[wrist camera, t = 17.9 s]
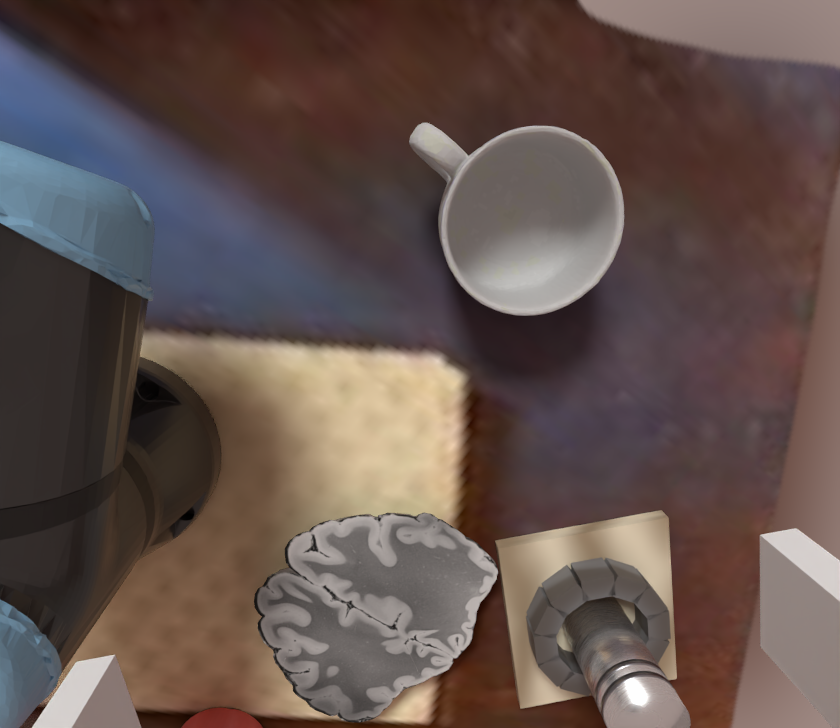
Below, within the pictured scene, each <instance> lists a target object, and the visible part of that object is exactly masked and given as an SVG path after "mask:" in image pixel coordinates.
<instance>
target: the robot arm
mask: <svg viewBox="0 0 840 728" xmlns="http://www.w3.org/2000/svg"><path fill="white" fill-rule="evenodd" d="M154 230H155V228H154V221H153V217H152V214H151V212H150V210H149V208H148V206H147V205H146V203H145V202H144V201H143V200H142V198H141V197H139V196H138V195H137V194H136V193H135V192H134V191H133V190H131V189H130V188H128V187H126V186H124V185H122V184H120V183H117V182H115V181H112V180H110V179H107V178H104V177H101V176H99V175H96V174H93V173H90V172H88V171H85V170H82V169H79V168H76V167H74V166H71V165H68V164H65V163H62V162H59V161H57V160H54V159H51V158H48V157H45V156H42V155H40V154H37V153H34V152H31V151H28V150H26V149H23V148H20V147H17V146H14V145H11V144H8V143H5V142H2V141H0V728H20V726H21V725H22V724H23V723H24V722H25V720H26V719H27V718H28V717H29V716H30V714H31V713H32V712H33V711H34V710H35V708H36V707H37V706H38V705H39V704H40V703H41V702H42V701H43V700H44V699H45V698H47V697H48V696H49V694H50V693H51V692H52V691H53V690H54V689H55V687H56V686H57V683H58V679H59V677H60V675H61V673H62V671H63V670H64V669H65V667H66V666H67V664H68V663H69V661H70V660H71V658H72V657H73V655H74V654H75V652H76V651H77V649H78V648H79V646H80V645H81V643H82V642H83V641H84V639H85V638H86V636H87V635H88V633H89V632H90V630H91V629H92V627H93V626H94V624H95V623H96V621H97V620H98V618H99V617H100V615H101V614H102V613H103V611H104V610H105V608H106V607H107V605H108V604H109V602H110V601H111V599H112V598H113V596H114V595H115V593H116V592H117V590H118V589H119V587H120V586H121V584H122V583H123V582H124V580H125V579H126V577H127V576H128V574H129V573H130V571H131V570H132V568H133V567H134V565H135V563H136V562H137V561H138V560H139V559H140V558H142V557H144V556H145V555H147V554H149V553H151V552H152V551H154V550H156V549H158V548H159V547H161V546H163V545H165V544H166V543H168V542H170V541H171V540H173V539H174V538H176V537H177V536H178V535H180V534H181V533H182V532H183V531H184V530H186V529H187V528H188V527H189V526H190V525H191V524H192V523H193V521H194V520H195V519H196V518H197V517H198V515H199V514H200V512H201V511H202V509H203V508H204V506H205V504H206V503H207V501H208V499H209V497H210V496H211V494H212V492H213V490H214V488H215V485H216V483H217V479H218V476H219V471H220V464H221V446H220V440H219V435H218V431H217V428H216V425H215V423H214V420H213V418H212V416H211V414H210V412H209V410H208V409H207V407H206V405H205V404H204V402H203V401H202V399H201V398H200V397H199V396H198V394H197V393H196V392H195V391H194V390H193V389H192V388H191V387H190V386H189V385H188V384H187V383H186V382H185V381H183V380H182V379H181V378H180V377H178V376H177V375H176V374H174V373H173V372H171V371H170V370H168V369H166V368H165V367H163V366H161V365H159V364H157V363H155V362H152V361H150V360H147V359H144V358H141V357H140V351H141V344H142V338H143V331H144V324H145V318H146V311H147V304H148V301H152V299H153V295H154V293H153V290H152V288H151V287H150V274H151V263H152V253H153V243H154ZM760 635H761V636H760V639H761V642H760V644H761V648H762V649H763V650H764V651H765V652H766V654H767V655H768V656H769V657H770V658H771V659H772V660H773V661H774V663H775V664H776V665H777V666H778V667H779V668H780V669H781V670H782V672H783V673H784V674H785V675H786V676H787V677H788V678H789V679H790V680H791V682H792V683H793V684H794V685H795V686H796V687H797V688H798V689H799V691H800V692H801V693H802V694H803V695H804V696H805V697H806V698H807V700H808V701H809V702H810V703H811V704H812V705H813V706H814V707H815V709H816V710H817V711H818V712H819V713H820V714H821V715H822V716H823V718H824V719H825V720H826V721H827V722H828V723H829V724H830V725H831V726H832V728H840V561H839V560H838V559H837V558H835V557H834V556H833V555H831V554H830V553H828V552H827V551H826V550H825V549H823V548H822V547H821V546H819V545H818V544H817V543H815V542H814V541H812V540H811V539H810V538H808V537H807V536H806V535H804V534H803V533H802V532H801V531H799V530H798V529H796V528H795V529H790V530H784V531H779V532H773V533H768V534H762V535H760ZM32 728H141V725H140V722H139V720H138V717H137V714H136V711H135V708H134V706H133V703H132V700H131V697H130V694H129V692H128V689H127V686H126V683H125V680H124V678H123V675H122V672H121V669H120V666H119V663H118V661H117V658H116V655H110V656H104V657H99V658H94V659H88V660H83V661H77V662H76V663H75V664H74V666H73V667H72V669H71V670H70V672H69V673H68V675H67V676H66V678H65V679H64V681H63V682H62V684H61V685H60V687H59V688H58V690H57V691H56V693H55V694H54V696H53V697H52V699H51V700H50V701H49V703H48V704H47V706H46V707H45V709H44V710H43V712H42V713H41V715H40V716H39V718H38V719H37V721H36V722H35V724H34V725H33V727H32Z"/></svg>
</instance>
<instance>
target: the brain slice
mask: <svg viewBox="0 0 840 728" xmlns="http://www.w3.org/2000/svg"><path fill="white" fill-rule="evenodd" d="M285 558H286V563H287V564H288V566H289V568H286V569H282V570H279V571H278V572H276V573H274V574H272V575H271V576H269V577H268V578H267V580H266V582H265V583H264V585H263V587H261V588H258V590H257V592H256V593H255V598H254V605H255V608H256V610H257V612H258V613H259V614H260V615H261V616H262V617H261V619H260V620H259V622H258V630H259V633H260V636H261V638H262V640H263V642H264V643H265V644H266V645H267V646H268V647H270V648H271V649H273V651H274V655H273V657H274V660H275V663H276V664H277V665H278V667H279V668H280V669H281V670H282V671H283V673H284V675H285V677H286V679H287V680H288V681H289V682H290V683H291V684H292V685H293V692H294V693H295V694H296V695H297V696H298V697H300V698H302V699H303V700H305V701H306V702H307V703H308V704H309V706H310V707H312V708H313V709H314V710H316V711H319V712H322V713H324V714H327V715H329V716H334V715H338V717H339V718H340V719H342V720H344V721H348V722H363V721H368V720H371V719H373V718H375V717H377V716H379V715H380V714H381V712H382V711H383V710H384V709H386V708H387V707H388V706H389V705H390V704H391V702H392V700H393V699H394V698H395V697H397V696H398V695H399V694H400V693H401V692H402V691H403V690H404V689H406V688H409V687H412V686H415V685H417V684H420V683H422V682H424V681H426V680H428V679H430V678H431V677H434V676H438V675H439V674H441V673H443V672H445V671H446V670H448V669H449V668H450V667H451V665H452V664H453V658H458V657H459V655H460V654H461V653H462V652H463V651H464V650H465V649H466V647H467V646H468V645H469V644H470V643H471V641H472V636H473V629H474V626H475V622H476V618H477V614H476V613H477V610H478V608H479V605H480V603H481V601H482V600H483V599H484V598H485V597H486V596H487V595H488V593H489V592H490V591H491V588H492V585H493V584H494V582H495V581H496V579H497V575H498V570H497V566H496V564H495V562H494V560H493V559H492V558H491V557H490V556H489V555H488V554H487V553H486V552H485V551H484V550H483V549H482V548H481V546H480V545H479V544H477V543H476V542H475V541H473V540H472V539H469V538H467V537H465V536H464V535H463V534H462V533H461V532H459V531H458V530H456V529H455V528H453V527H452V526H451V525H449V524H447V523H446V522H444V521H443V520H441V519H438V518H436V517H435V516H433V515H432V514H428V513H422V514H419V515H418V516H412V515H409V514H398V513H386V514H384V515H378V517H374V516H372V515H370V514H364V515H356V516H350V517H345V518H341V519H337V520H329V521H325V522H323V523H320V524H318V525H316V526H314V527H312V528H311V530H310V531H307V532H303V533H300V534H298V535H296V536H295V537H294V538H293V539H291V540H290V541H289V542H288V544H287V546H286V548H285Z"/></svg>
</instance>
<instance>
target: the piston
mask: <svg viewBox="0 0 840 728" xmlns="http://www.w3.org/2000/svg"><path fill="white" fill-rule="evenodd" d="M562 628H563V631H564V633H565V635H566V637H567V640H568V642H569V644H570V646H571V648H572V651H573V653H574V655H575V657H576V659H577V662H578V664H579V666H580V668H581V670H582V673H583V675H584V677H585V679H586V682H587V684H588V686H589V688H590V690H591V693H592V695H593V697H594V699H595V701H596V704H597V707H598V709H599V711H600V713H601V715H602V718H603V720H604V722H605V724H606V726H607V728H690V716H689V713H688V711H687V709H686V707H685V706H684V704H683V703H682V701H681V700H680V698H679V696H678V695H677V693H676V691H675V689H674V688H673V686H672V685H671V683H670V682H669V680H668V679H667V677H666V675H665V674H664V672H663V671H662V670H661V668H660V667H659V665H658V663H657V662H656V660H655V659H654V657H653V656H652V654H651V652H650V651H649V649H648V648H647V646H646V645H645V643H644V641H643V640H642V638H641V637H640V635H639V634H638V632H637V630H636V629H635V627H634V626H633V624H632V623H631V621H630V619H629V618H628V616H627V615H626V613H625V612H624V610H623V608H622V607H621V605H620V604H619V602H618V601H617V600H616V598H614V597H613V596H611V597H605V598H600V599H595V600H589V601H586V602H585V603H583V604H582V605H581V606H579V607H578V608H577V609H575V610H574V611H572V612H571V613H570V614H568V615H567V616H566V618H565V620H564V622H563V624H562Z"/></svg>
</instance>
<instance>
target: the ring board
mask: <svg viewBox="0 0 840 728" xmlns="http://www.w3.org/2000/svg"><path fill="white" fill-rule="evenodd" d="M495 543H496V550H497V557H498V564H499V571H500V579H501V586H502V593H503V600H504V607H505V614H506V621H507V628H508V635H509V642H510V649H511V656H512V664H513V671H514V678H515V685H516V692H517V698H518V702H519V705H520V709H522V708H527V707H533V706H538V705H543V704H548V703H553V702H559V701H564V700H569V699H574V698H579V697H585V696H590V695H592V693H591V690H590V688H589V686H588V684H587V682H586V679H585V677H584V675H583V673H582V670H581V668H580V666H579V664H578V662H577V659H576V657H575V655H574V653H573V651H572V648H571V646H570V644H569V642H568V640H567V637H566V635H565V633H564V631H563V628H562V624H563V622H564V620H565V618H566V616H567V615H568V614H570V613H571V612H572V611H574V610H575V609H577V608H578V607H579V606H581V605H582V604H583V603H585V602H586V601H589V600H595V599H600V598H605V597H611V596H613V597H614V598H616V600H617V601H618V602H619V604H620V605H621V607H622V608H623V610H624V612H625V613H626V615H627V616H628V618H629V619H630V621H631V623H632V624H633V626H634V627H635V629H636V630H637V632H638V634H639V635H640V637H641V638H642V640H643V641H644V643H645V645H646V646H647V648H648V649H649V651H650V652H651V654H652V656H653V657H654V659H655V660H656V662H657V663H658V665H659V667H660V668H661V670H662V671H663V672H664V674H665V675H666V677H667V679H668V680H673V679H677V674H676V654H675V635H674V616H673V597H672V577H671V558H670V539H669V519H668V517H667V516H666V515H665V514H664V512H663V511H662V510H660V511H654V512H649V513H643V514H638V515H633V516H627V517H622V518H616V519H611V520H605V521H600V522H594V523H589V524H583V525H578V526H572V527H567V528H561V529H556V530H551V531H545V532H540V533H534V534H529V535H523V536H518V537H512V538H507V539H501V540H496V541H495ZM592 696H593V695H592Z"/></svg>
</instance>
